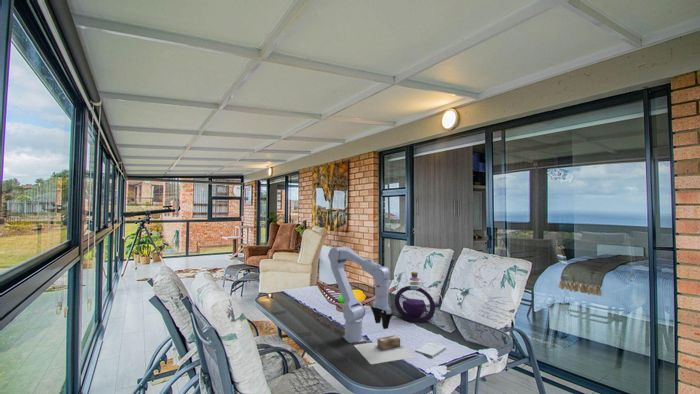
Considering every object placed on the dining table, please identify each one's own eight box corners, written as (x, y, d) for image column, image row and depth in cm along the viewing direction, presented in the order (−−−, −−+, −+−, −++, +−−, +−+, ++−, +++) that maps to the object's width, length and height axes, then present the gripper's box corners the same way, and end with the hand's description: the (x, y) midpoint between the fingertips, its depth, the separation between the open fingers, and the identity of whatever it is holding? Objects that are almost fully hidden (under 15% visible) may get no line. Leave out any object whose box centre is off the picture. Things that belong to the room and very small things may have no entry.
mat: (353, 346, 161) (353, 344, 161) (394, 340, 168) (394, 339, 168) (370, 365, 142) (370, 364, 142) (415, 358, 149) (415, 356, 149)
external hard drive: (415, 354, 154) (429, 345, 164) (432, 359, 149) (446, 350, 158) (415, 350, 154) (429, 341, 164) (432, 355, 149) (446, 346, 158)
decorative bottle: (393, 322, 193) (393, 275, 194) (395, 310, 214) (395, 268, 214) (436, 324, 189) (436, 276, 190) (434, 312, 210) (434, 269, 210)
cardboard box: (394, 343, 163) (394, 335, 163) (400, 346, 159) (400, 338, 159) (377, 346, 159) (377, 338, 159) (383, 350, 155) (383, 342, 155)
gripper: (366, 291, 165) (366, 321, 164) (380, 299, 151) (380, 332, 151) (380, 290, 167) (380, 319, 167) (395, 298, 154) (395, 330, 153)
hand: (381, 325), depth 159 cm, fingers open, 7 cm apart
